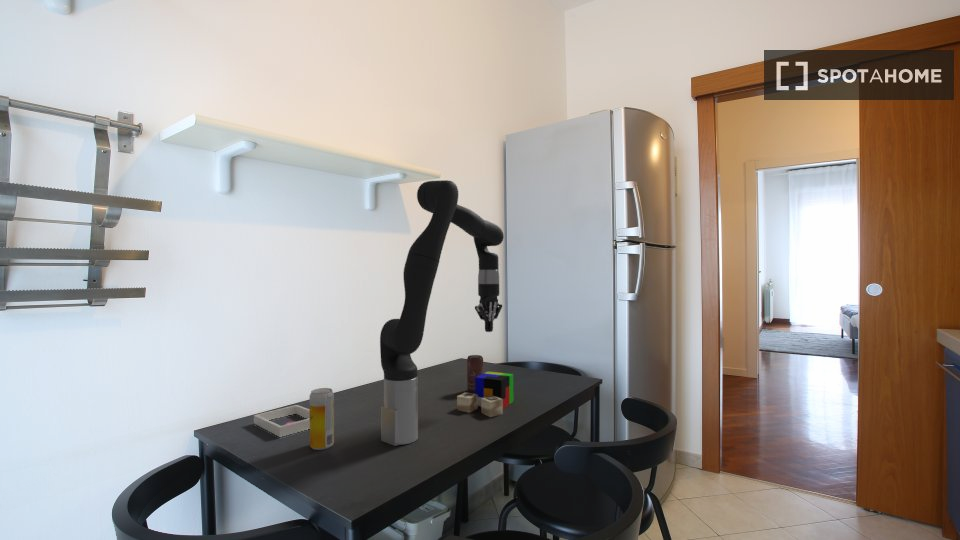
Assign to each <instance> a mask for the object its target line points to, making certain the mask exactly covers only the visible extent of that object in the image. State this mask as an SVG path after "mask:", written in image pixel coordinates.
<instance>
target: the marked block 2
mask: <svg viewBox="0 0 960 540" xmlns="http://www.w3.org/2000/svg"><path fill="white" fill-rule="evenodd" d="M480 407H481V409H480V410H481V411H480V412H481V414H483V415H485V416H487V417H489V418H494V417H498V416H501V415H502V416H503V414H504V408H503V399H501V398H498V397H495V396H490V397H485V398H481V406H480Z"/></svg>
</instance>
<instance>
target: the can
mask: <svg viewBox="0 0 960 540" xmlns="http://www.w3.org/2000/svg"><path fill="white" fill-rule="evenodd" d="M481 374H484V358H483V355H480V354H479V355H478V354H471V355H468V356H467V359H466V380H467V381H466V383H467V384H466V385H467V387H466V391H467V393H471V394H475V377H477V376H479V375H481Z"/></svg>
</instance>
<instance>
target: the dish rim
mask: <svg viewBox="0 0 960 540" xmlns="http://www.w3.org/2000/svg"><path fill="white" fill-rule="evenodd" d="M293 414H298V415H300V416H299V417H301V416H302V417H301V418H303V417H304V418H303V419H302V420H298V421H293V422H294V423H290V424H287V425H284V424H283V425H280V424H277V423H276V422H275V421H269V420H271V419H275V418H280V417H284V416H288V415H292V416H294V415H293ZM298 415H297V416H298ZM288 417H289V416H288ZM284 418H285V417H284ZM305 418H307V419H305ZM254 423H255V424H257V425H259V426H261V427H262V428H264V429H266V430H268V431H270V432H272V433H274V434H275V435H277V436H279V437H282V436H286V435H289V434H293V433H297V432H298V431H299V432H300V433H302V432H301V430H303V432H305V431H304V430H307V431H309V430H308V429H310V408H307V407H304V406H301V405H298V404H294V405H290V406H287V407H282V408H278V409H274V410H271V411H266V412H262V413H257V414H254V415H253V424H254ZM297 434H298V433H297ZM293 435H294V434H293Z"/></svg>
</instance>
